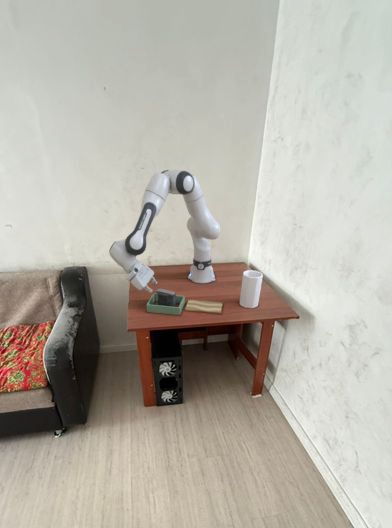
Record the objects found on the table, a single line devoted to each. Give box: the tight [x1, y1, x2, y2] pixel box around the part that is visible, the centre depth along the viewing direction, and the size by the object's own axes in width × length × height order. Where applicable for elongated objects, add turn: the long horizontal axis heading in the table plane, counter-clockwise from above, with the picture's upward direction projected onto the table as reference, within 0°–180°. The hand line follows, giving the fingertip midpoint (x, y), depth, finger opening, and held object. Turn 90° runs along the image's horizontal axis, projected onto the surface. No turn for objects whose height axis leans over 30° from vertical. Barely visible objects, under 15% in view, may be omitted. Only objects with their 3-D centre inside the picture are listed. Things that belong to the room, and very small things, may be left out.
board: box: [184, 299, 224, 315], centre depth 166 cm, size 12×20×1 cm, turn 81°
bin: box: [145, 292, 186, 316], centre depth 164 cm, size 14×18×4 cm
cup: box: [239, 269, 264, 309], centre depth 165 cm, size 11×11×18 cm
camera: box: [155, 288, 177, 307], centre depth 162 cm, size 11×6×10 cm, turn 64°
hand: (154, 288), depth 159 cm, fingers open, 8 cm apart
